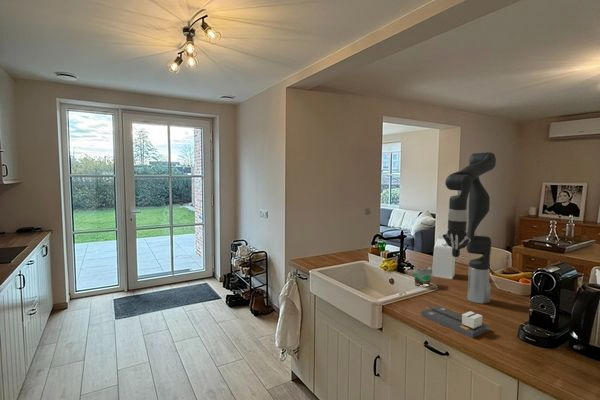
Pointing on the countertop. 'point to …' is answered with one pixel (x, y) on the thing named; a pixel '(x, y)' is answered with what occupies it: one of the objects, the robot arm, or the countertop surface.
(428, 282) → the food container
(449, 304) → the countertop surface
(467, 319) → the fader knob
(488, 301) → the robot arm
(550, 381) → the countertop surface
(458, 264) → the countertop surface
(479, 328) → the fader console
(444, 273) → the milk
